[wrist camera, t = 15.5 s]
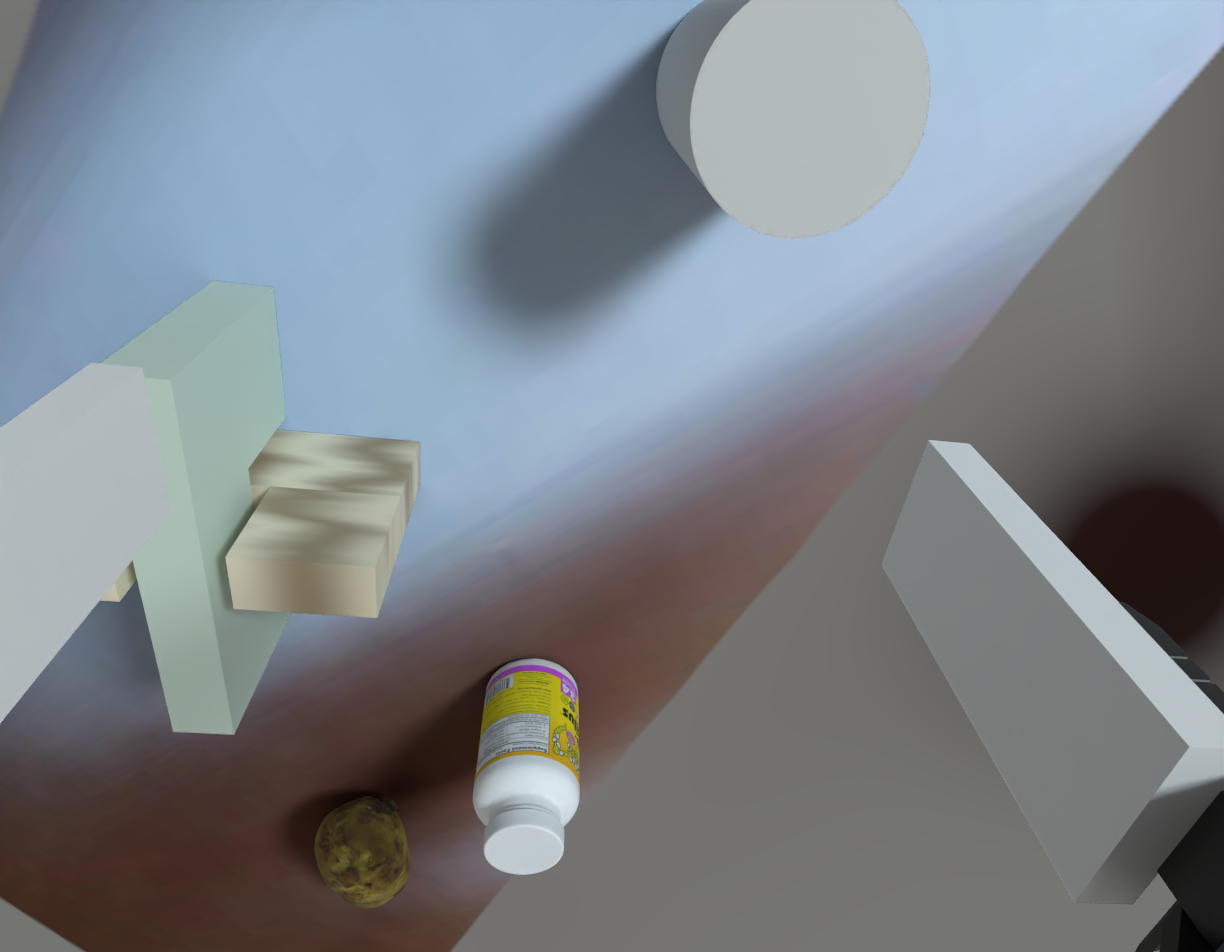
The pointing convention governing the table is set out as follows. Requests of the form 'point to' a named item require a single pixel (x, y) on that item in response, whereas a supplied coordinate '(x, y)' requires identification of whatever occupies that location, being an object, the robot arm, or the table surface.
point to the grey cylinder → (795, 107)
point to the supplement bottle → (527, 765)
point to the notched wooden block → (319, 525)
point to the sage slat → (208, 495)
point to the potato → (363, 851)
